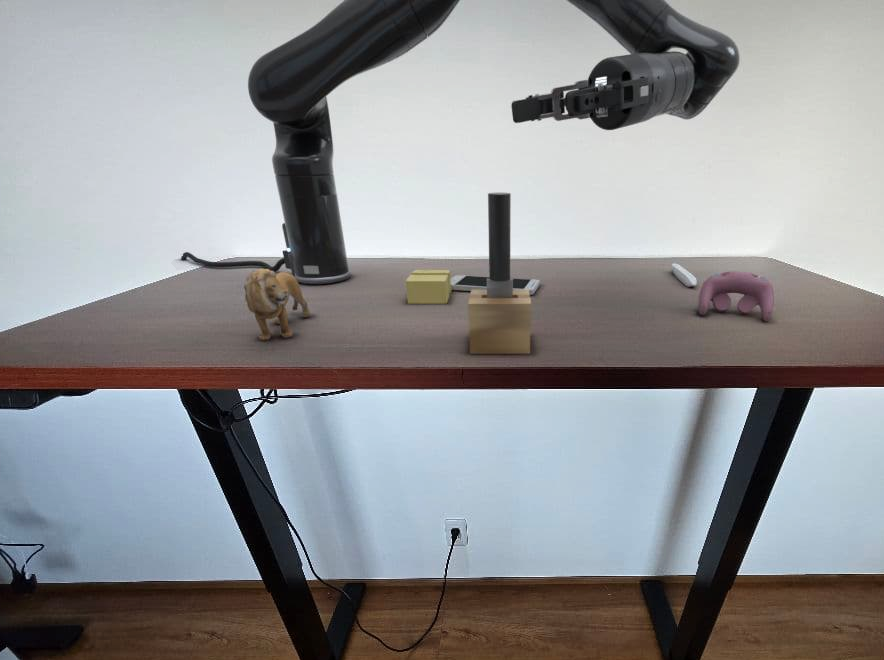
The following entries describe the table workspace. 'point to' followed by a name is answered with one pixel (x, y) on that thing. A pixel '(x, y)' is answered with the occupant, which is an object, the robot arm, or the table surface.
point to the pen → (684, 275)
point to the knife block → (499, 323)
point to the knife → (499, 246)
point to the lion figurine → (273, 299)
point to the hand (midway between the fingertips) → (540, 108)
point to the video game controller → (737, 282)
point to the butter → (428, 287)
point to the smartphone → (481, 283)
